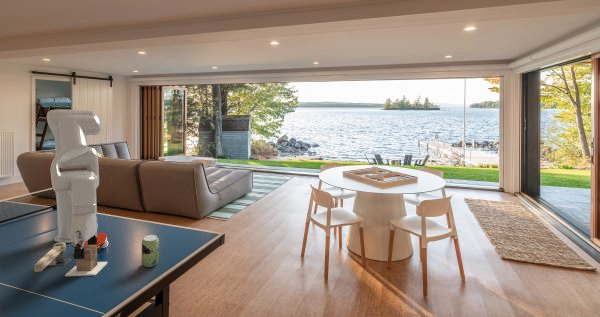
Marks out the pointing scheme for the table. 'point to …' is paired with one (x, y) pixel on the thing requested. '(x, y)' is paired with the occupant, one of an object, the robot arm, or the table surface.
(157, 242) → the beverage can
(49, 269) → the table surface
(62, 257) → the swing arm
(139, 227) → the table surface
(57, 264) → the pivot plate
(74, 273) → the tile
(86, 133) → the robot arm
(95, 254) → the walnut block
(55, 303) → the table surface
